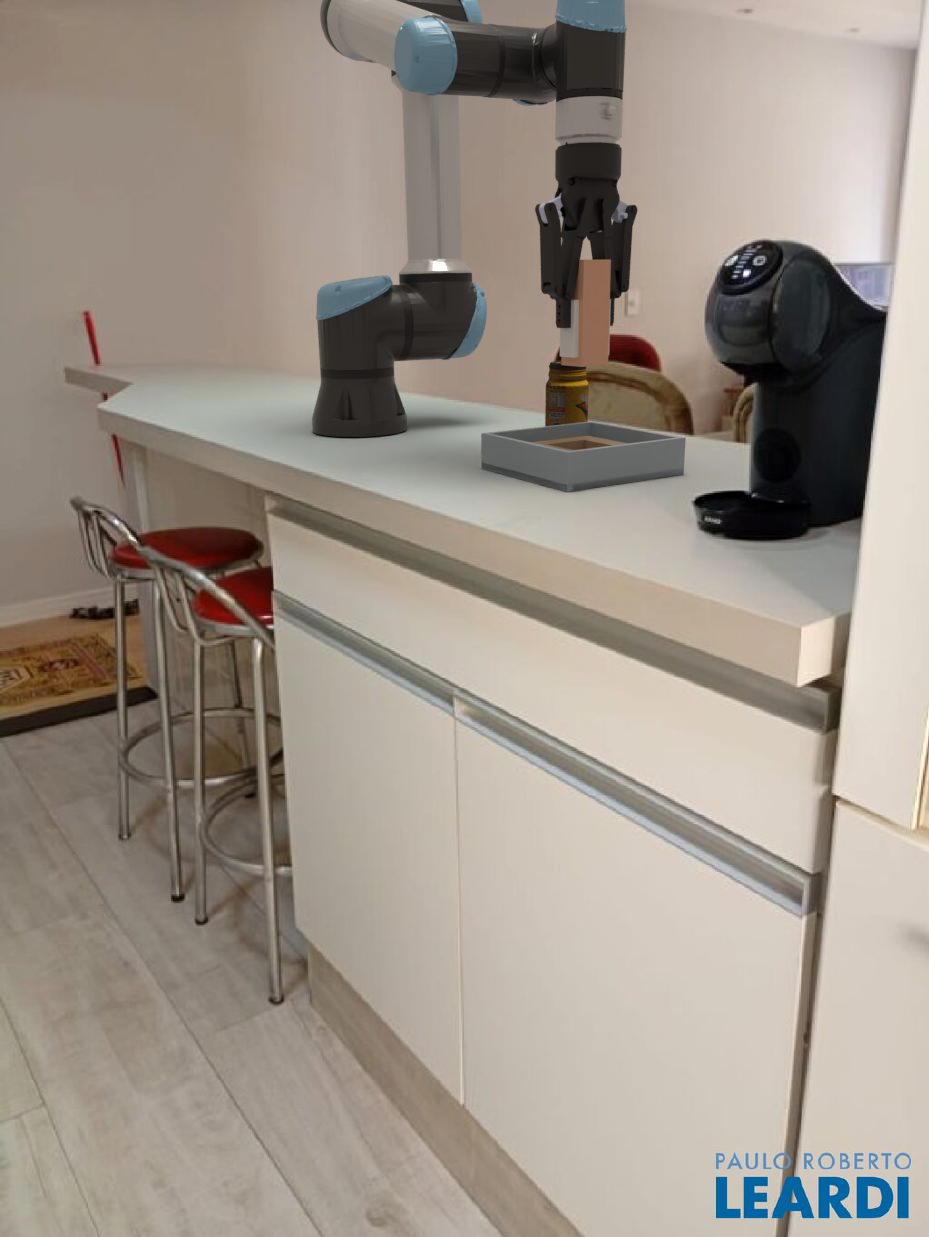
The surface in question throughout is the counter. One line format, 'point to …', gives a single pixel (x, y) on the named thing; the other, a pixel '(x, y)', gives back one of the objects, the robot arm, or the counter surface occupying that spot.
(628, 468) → the tray box
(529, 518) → the counter surface
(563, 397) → the condiment
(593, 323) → the peg
